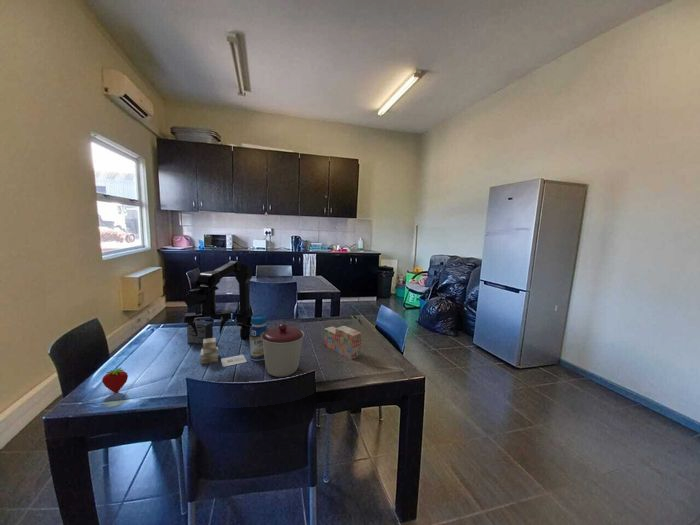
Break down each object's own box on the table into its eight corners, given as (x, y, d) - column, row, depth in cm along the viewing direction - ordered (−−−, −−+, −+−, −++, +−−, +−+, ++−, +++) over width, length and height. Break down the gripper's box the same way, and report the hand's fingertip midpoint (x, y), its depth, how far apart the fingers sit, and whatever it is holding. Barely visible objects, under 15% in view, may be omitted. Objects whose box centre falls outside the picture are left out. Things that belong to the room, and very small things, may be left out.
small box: (213, 340, 153) (213, 321, 151) (206, 345, 146) (206, 325, 145) (195, 338, 154) (194, 319, 152) (186, 343, 147) (186, 323, 146)
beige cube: (215, 347, 135) (215, 337, 134) (215, 352, 130) (215, 341, 130) (203, 349, 133) (203, 338, 132) (203, 353, 128) (203, 343, 128)
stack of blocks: (323, 345, 153) (323, 323, 151) (332, 342, 157) (332, 320, 156) (351, 360, 138) (352, 335, 136) (360, 356, 142) (361, 332, 141)
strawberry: (109, 388, 107) (107, 362, 105) (132, 386, 108) (130, 361, 107) (98, 397, 101) (96, 371, 100) (123, 396, 103) (121, 369, 101)
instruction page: (243, 354, 138) (243, 354, 138) (246, 362, 131) (246, 361, 131) (220, 359, 132) (220, 358, 132) (223, 367, 126) (223, 366, 126)
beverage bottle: (262, 351, 142) (262, 312, 139) (271, 357, 136) (271, 317, 134) (246, 356, 136) (246, 315, 134) (254, 363, 130) (254, 320, 128)
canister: (305, 361, 134) (307, 317, 131) (300, 382, 116) (301, 332, 113) (266, 360, 134) (267, 316, 131) (254, 381, 116) (254, 331, 113)
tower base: (218, 354, 137) (218, 346, 136) (218, 361, 130) (217, 353, 130) (201, 356, 134) (201, 348, 133) (200, 363, 128) (200, 355, 127)
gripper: (230, 295, 140) (230, 326, 142) (186, 297, 132) (187, 330, 134) (231, 301, 129) (231, 334, 131) (183, 304, 122) (184, 339, 124)
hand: (208, 334), depth 130 cm, fingers open, 9 cm apart
